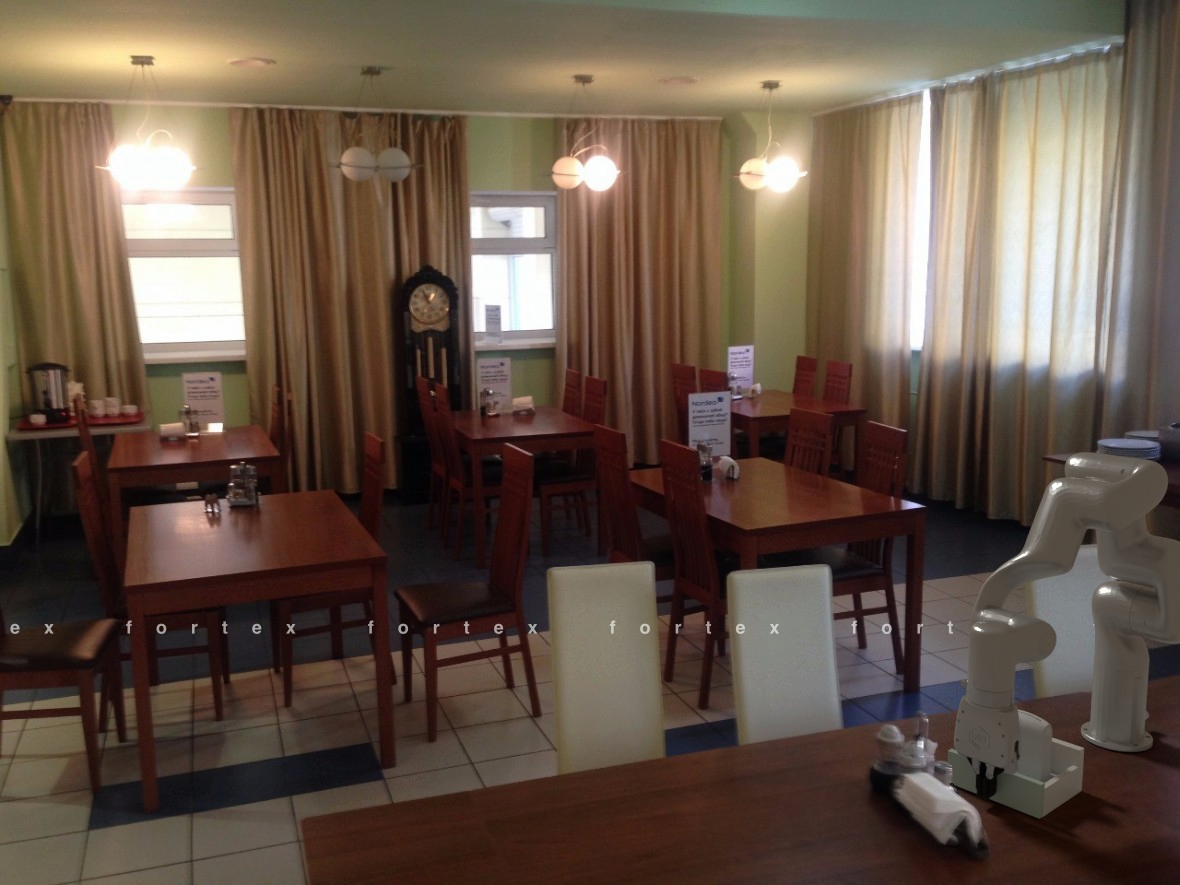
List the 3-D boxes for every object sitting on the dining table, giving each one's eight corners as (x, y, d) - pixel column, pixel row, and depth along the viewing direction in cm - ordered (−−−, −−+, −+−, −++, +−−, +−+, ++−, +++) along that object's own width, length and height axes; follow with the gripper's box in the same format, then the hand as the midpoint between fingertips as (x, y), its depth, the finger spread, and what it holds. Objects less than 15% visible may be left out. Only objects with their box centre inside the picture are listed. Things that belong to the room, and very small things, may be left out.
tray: (986, 760, 193) (987, 729, 192) (1077, 793, 180) (1079, 760, 179) (946, 782, 185) (947, 750, 184) (1039, 819, 171) (1041, 785, 171)
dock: (992, 758, 194) (994, 718, 193) (1081, 790, 181) (1084, 747, 180) (952, 781, 185) (953, 739, 184) (1042, 817, 173) (1045, 772, 171)
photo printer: (987, 771, 187) (990, 706, 185) (999, 764, 189) (1002, 700, 187) (1042, 791, 179) (1045, 724, 177) (1054, 784, 181) (1057, 717, 180)
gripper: (938, 687, 177) (934, 787, 180) (1021, 714, 166) (1015, 820, 169) (962, 676, 182) (958, 774, 185) (1044, 701, 171) (1038, 805, 173)
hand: (985, 795), depth 177 cm, fingers closed
